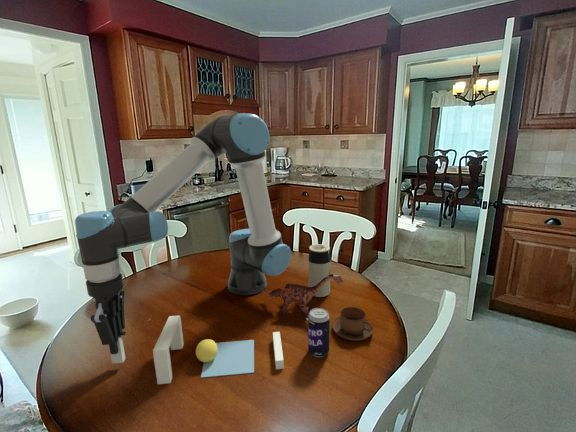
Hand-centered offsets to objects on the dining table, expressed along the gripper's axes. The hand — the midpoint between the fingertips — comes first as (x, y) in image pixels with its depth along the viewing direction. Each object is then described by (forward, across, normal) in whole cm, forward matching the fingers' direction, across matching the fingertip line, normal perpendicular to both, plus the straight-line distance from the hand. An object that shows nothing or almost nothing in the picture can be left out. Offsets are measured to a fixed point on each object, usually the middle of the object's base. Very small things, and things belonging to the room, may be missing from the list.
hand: (118, 360), depth 80 cm
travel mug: (+2, -32, +59) cm, 67 cm away
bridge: (+2, 0, +13) cm, 13 cm away
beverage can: (+2, +1, +52) cm, 52 cm away
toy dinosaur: (+2, -20, +49) cm, 53 cm away
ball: (-1, 0, +22) cm, 22 cm away
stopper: (+2, 0, +41) cm, 41 cm away
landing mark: (+2, 0, +28) cm, 28 cm away
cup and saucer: (+2, -7, +64) cm, 64 cm away
